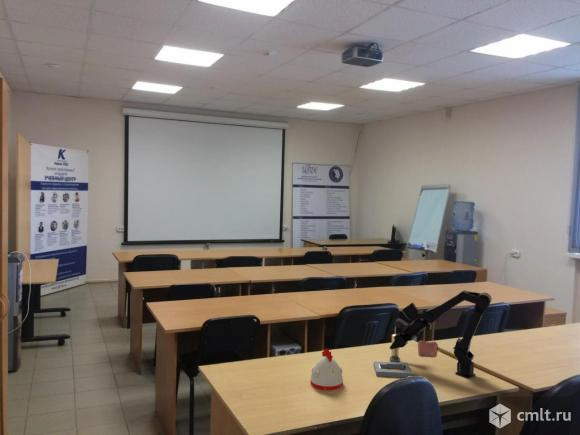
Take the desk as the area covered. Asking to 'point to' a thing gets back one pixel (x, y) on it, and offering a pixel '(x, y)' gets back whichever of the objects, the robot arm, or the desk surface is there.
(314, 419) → the desk surface
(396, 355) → the brass peg
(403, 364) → the square frame
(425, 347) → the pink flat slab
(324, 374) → the kitchen timer
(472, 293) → the robot arm
